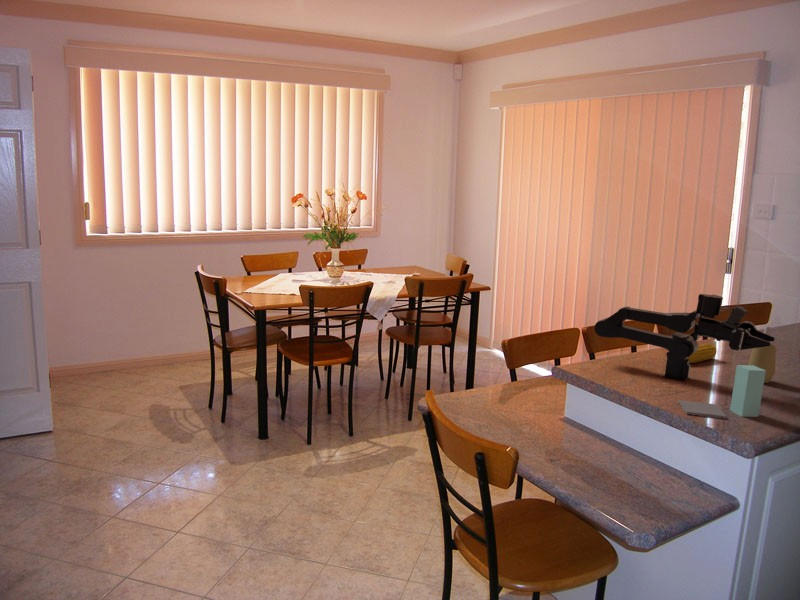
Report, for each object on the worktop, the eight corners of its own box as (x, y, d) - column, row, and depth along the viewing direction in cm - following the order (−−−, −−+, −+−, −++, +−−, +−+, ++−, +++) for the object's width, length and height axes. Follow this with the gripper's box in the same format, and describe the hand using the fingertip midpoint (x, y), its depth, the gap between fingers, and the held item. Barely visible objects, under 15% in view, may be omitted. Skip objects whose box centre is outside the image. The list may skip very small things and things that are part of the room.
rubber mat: (678, 402, 189) (678, 400, 189) (715, 407, 188) (716, 404, 187) (686, 414, 180) (686, 411, 179) (726, 419, 178) (726, 416, 178)
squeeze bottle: (770, 379, 220) (779, 326, 217) (775, 386, 212) (784, 331, 209) (743, 375, 223) (752, 323, 219) (747, 382, 215) (756, 327, 212)
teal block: (729, 410, 186) (736, 365, 183) (746, 410, 186) (753, 365, 184) (741, 416, 181) (749, 370, 178) (758, 416, 182) (765, 370, 179)
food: (703, 356, 247) (705, 341, 246) (717, 360, 242) (720, 344, 241) (671, 363, 234) (674, 346, 233) (686, 367, 230) (689, 350, 228)
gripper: (715, 308, 198) (774, 319, 189) (727, 300, 213) (782, 311, 204) (707, 344, 200) (765, 357, 192) (720, 334, 215) (774, 346, 207)
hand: (772, 341), depth 198 cm, fingers open, 9 cm apart
